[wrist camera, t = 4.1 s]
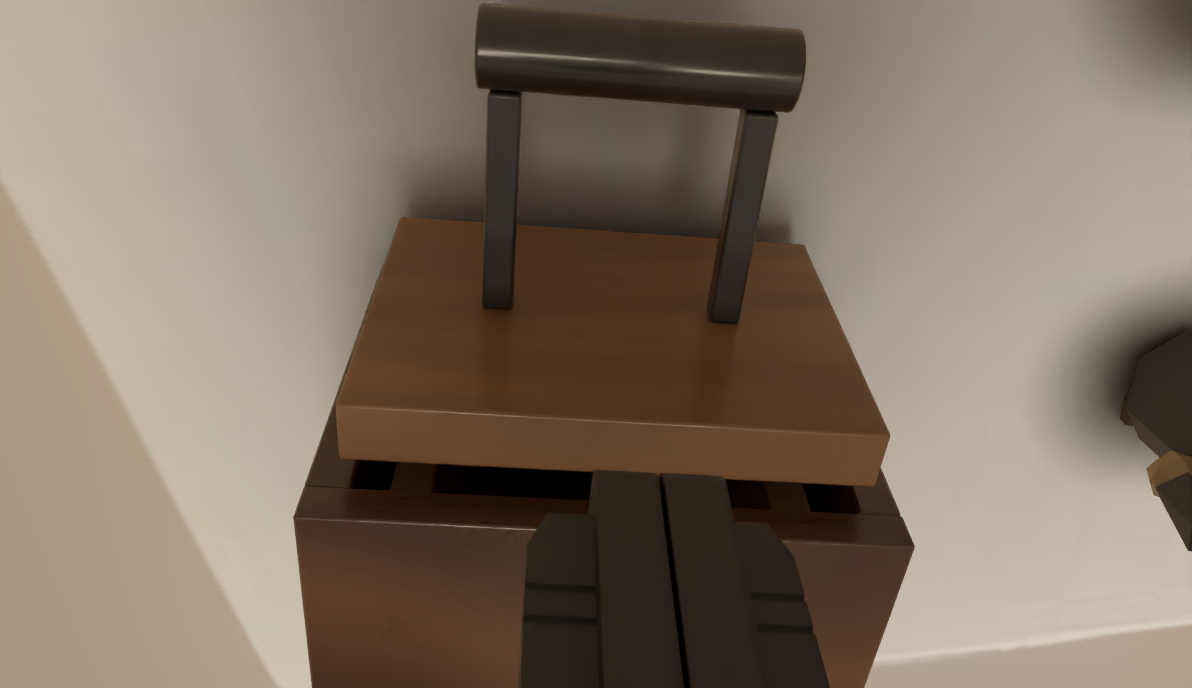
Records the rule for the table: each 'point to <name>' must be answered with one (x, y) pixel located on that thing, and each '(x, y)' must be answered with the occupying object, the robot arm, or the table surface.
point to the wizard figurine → (1166, 425)
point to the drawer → (611, 302)
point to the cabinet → (497, 574)
